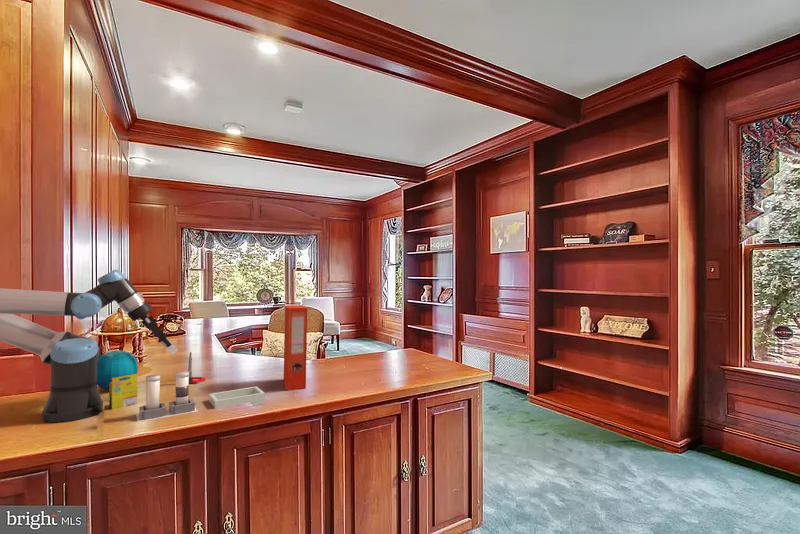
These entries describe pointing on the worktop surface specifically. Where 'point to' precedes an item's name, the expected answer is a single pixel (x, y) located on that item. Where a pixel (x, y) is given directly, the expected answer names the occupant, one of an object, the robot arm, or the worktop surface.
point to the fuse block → (165, 410)
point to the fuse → (152, 392)
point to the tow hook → (191, 373)
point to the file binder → (295, 347)
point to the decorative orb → (115, 367)
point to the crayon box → (123, 392)
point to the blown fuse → (182, 387)
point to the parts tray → (237, 397)
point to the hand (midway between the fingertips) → (172, 350)
